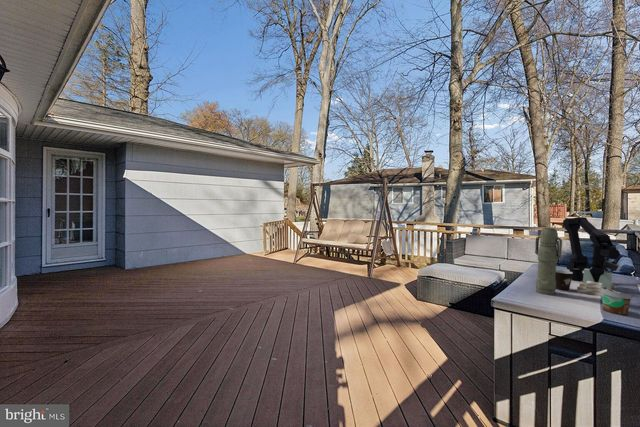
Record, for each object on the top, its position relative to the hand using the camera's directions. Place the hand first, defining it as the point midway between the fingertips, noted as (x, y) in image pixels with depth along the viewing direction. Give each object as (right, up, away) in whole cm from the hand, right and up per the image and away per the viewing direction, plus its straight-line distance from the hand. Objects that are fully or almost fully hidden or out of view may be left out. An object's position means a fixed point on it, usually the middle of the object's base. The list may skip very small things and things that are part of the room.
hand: (597, 282), depth 184 cm
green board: (0, -3, 0) cm, 3 cm away
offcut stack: (-9, -4, -8) cm, 13 cm away
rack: (-3, -3, -3) cm, 5 cm away
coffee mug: (-24, -3, -3) cm, 24 cm away
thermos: (-37, -3, -10) cm, 38 cm away
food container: (-26, -5, -37) cm, 46 cm away
